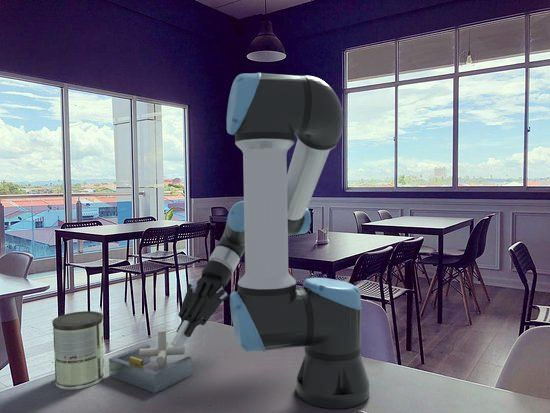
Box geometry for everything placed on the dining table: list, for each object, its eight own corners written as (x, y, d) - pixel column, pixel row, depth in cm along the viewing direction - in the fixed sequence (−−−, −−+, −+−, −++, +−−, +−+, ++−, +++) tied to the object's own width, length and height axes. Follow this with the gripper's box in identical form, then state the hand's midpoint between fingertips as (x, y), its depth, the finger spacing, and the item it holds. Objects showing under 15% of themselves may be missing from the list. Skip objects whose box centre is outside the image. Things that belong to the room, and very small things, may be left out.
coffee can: (48, 379, 101) (46, 317, 100) (94, 366, 108) (92, 308, 107) (63, 395, 94) (61, 328, 93) (112, 380, 101) (110, 317, 100)
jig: (191, 374, 103) (191, 352, 103) (155, 393, 94) (154, 368, 94) (147, 360, 112) (146, 339, 111) (109, 375, 103) (108, 353, 102)
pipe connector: (184, 381, 100) (183, 336, 99) (137, 384, 98) (136, 339, 98) (185, 363, 110) (184, 322, 109) (142, 366, 108) (142, 325, 107)
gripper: (245, 277, 120) (203, 360, 108) (209, 272, 128) (165, 349, 115) (232, 261, 116) (187, 345, 103) (195, 256, 123) (148, 334, 110)
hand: (175, 347), depth 109 cm, fingers closed
